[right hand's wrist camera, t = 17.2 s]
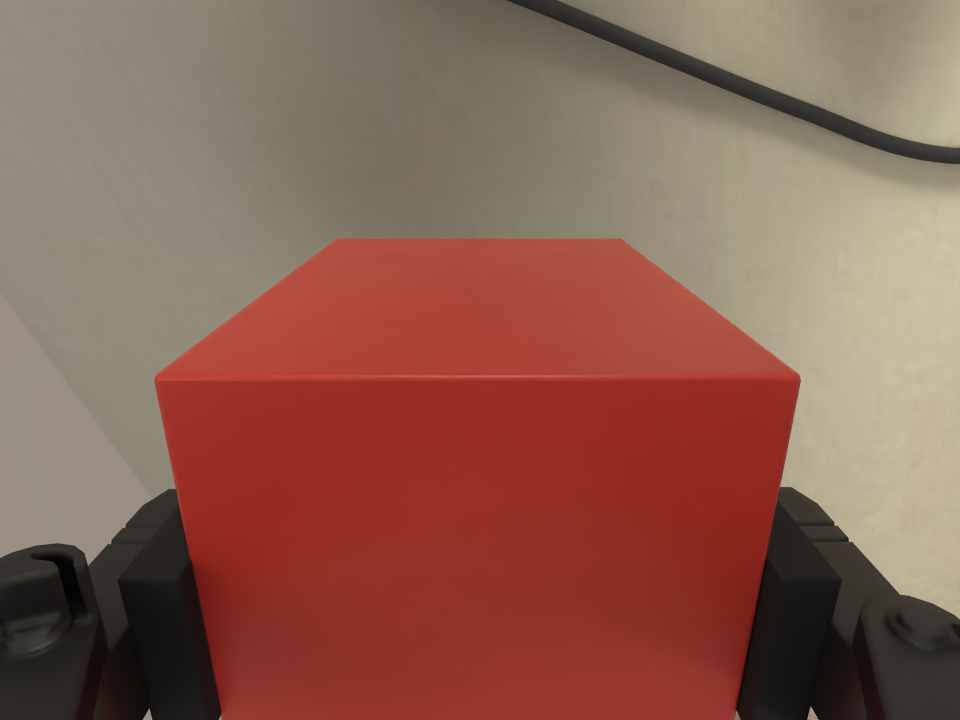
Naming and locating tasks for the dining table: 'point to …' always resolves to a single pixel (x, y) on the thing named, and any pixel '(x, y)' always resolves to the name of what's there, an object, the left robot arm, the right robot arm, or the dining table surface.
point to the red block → (478, 486)
